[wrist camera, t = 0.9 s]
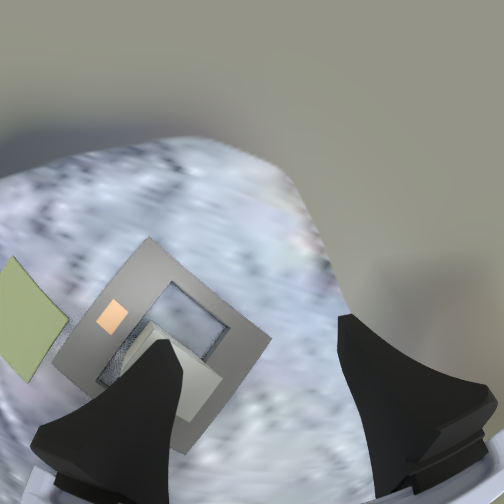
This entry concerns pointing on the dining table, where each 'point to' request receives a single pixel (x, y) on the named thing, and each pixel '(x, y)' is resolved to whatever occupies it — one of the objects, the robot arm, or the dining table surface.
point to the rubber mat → (26, 320)
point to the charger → (194, 369)
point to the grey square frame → (130, 313)
